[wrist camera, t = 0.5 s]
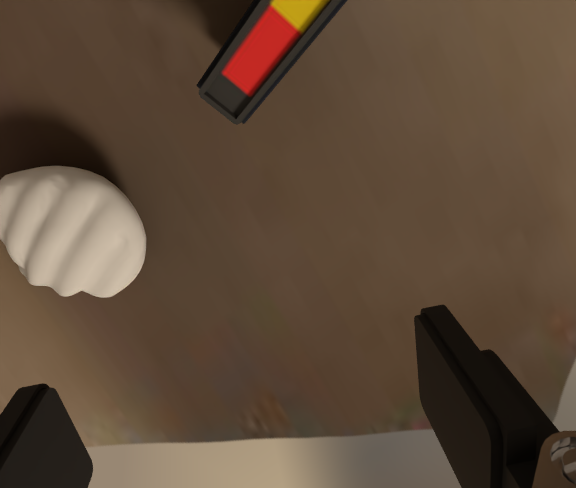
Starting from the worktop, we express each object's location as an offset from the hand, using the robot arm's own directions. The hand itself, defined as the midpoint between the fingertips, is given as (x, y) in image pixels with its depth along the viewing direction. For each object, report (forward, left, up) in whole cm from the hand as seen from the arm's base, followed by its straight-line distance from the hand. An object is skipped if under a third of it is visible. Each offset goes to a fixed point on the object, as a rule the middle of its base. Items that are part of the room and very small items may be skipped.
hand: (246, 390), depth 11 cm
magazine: (-9, +4, -30) cm, 32 cm away
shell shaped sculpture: (+4, -16, -30) cm, 34 cm away
